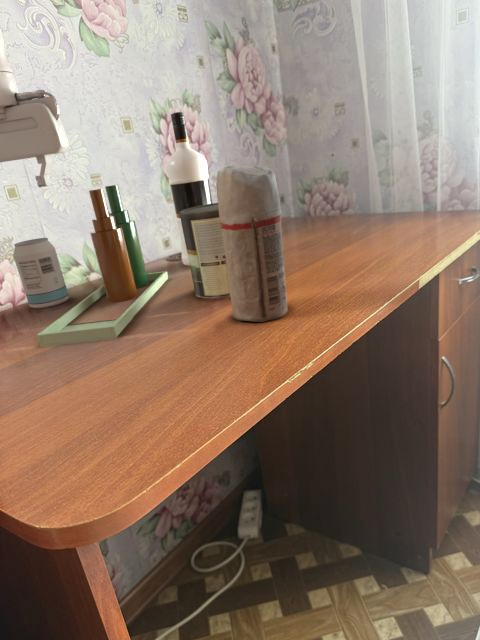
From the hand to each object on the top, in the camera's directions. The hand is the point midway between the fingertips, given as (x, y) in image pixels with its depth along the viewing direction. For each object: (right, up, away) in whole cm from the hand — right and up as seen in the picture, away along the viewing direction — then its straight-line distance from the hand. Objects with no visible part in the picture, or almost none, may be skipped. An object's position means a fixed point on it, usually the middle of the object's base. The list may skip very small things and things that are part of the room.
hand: (18, 190), depth 83 cm
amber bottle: (+16, -17, +5) cm, 24 cm away
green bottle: (+16, -14, +12) cm, 25 cm away
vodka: (+28, -8, +26) cm, 39 cm away
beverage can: (+2, -19, +9) cm, 21 cm away
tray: (+16, -20, +1) cm, 25 cm away
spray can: (+40, -22, -12) cm, 47 cm away
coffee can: (+34, -17, +2) cm, 38 cm away
